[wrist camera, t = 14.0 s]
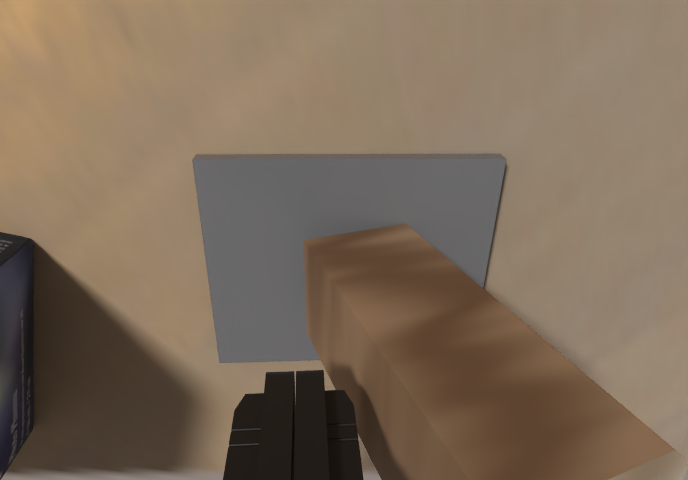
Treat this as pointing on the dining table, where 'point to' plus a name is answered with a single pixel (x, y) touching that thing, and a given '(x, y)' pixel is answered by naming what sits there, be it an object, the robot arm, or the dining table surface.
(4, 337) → the small box
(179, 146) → the dining table surface
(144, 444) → the dining table surface
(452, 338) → the walnut block
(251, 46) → the dining table surface
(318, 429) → the robot arm
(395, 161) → the slate pad
